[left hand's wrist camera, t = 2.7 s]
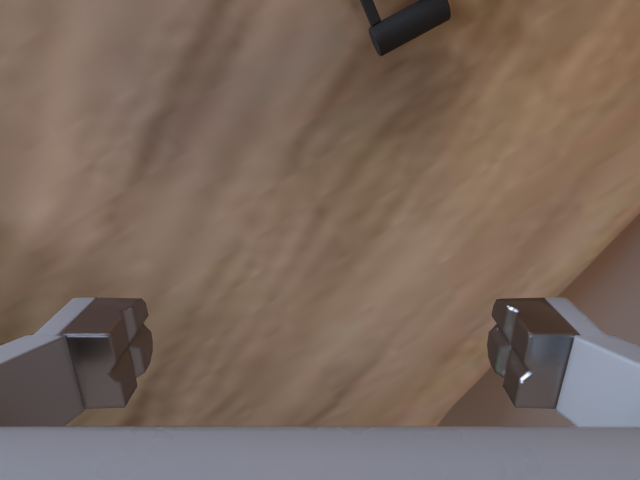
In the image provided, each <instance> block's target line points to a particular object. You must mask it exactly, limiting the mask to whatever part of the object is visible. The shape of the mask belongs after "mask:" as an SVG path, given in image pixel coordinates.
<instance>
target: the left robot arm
mask: <svg viewBox="0 0 640 480" xmlns="http://www.w3.org/2000/svg"><path fill="white" fill-rule="evenodd" d="M147 317H148V312H147V307H146V303H145V302H144V301H143V299H142V298H97V297H88V298H73V299H72V300H71V301H70V302H69V303H67V304H66V305H65V306H64V307H63V308H62V309H61V310H60V311H59V312H58V313H57V314H56V315H54V316H53V317H52V318H51V319H50V320H49V321H48V322H47V323H46V324H45V325H44V326H43V327H42V328H40V329H39V330H38V331H37V332H36V333H35V334H34V335H26V336H23V337H21V338H18V339H16V340H13V341H11V342H9V343H6V344H4V345H1V346H0V480H640V346H639V345H636V344H634V343H631V342H629V341H627V340H624V339H622V338H619V337H617V336H614V335H606V334H605V333H604V332H603V331H602V330H601V329H600V328H599V327H597V326H596V325H595V324H594V323H593V322H592V321H591V320H590V319H589V318H588V317H587V316H586V315H585V314H583V313H582V312H581V311H580V310H579V309H578V308H577V307H576V306H575V305H574V304H573V303H572V302H571V301H569V300H568V299H566V298H563V297H554V298H510V299H497V300H496V302H495V304H494V306H493V311H492V317H493V318H494V320H495V321H496V323H497V324H496V325H495V326H494V327H493V328H492V329H491V330H490V331H489V335H488V342H487V348H488V357H489V360H490V364H491V366H492V368H493V370H494V371H495V373H497V374H498V375H500V376H502V377H503V378H504V382H503V387H504V389H505V391H506V392H507V394H508V396H509V397H510V399H511V401H512V403H513V404H514V406H515V407H516V408H550V409H556V411H557V412H558V413H560V414H561V415H563V416H564V417H565V418H566V419H568V420H569V421H570V422H572V423H573V424H574V425H576V426H577V427H63V426H64V425H66V424H67V423H68V422H70V421H71V420H72V419H74V418H75V417H76V416H78V415H79V414H80V413H82V412H83V411H84V409H90V408H125V406H126V404H127V403H128V401H129V399H130V398H131V396H132V394H133V392H134V391H135V389H136V387H137V382H136V378H137V377H138V376H140V375H142V374H143V373H145V371H146V370H147V368H148V366H149V364H150V360H151V356H152V352H153V341H152V334H151V331H150V330H149V329H148V328H147V327H146V326H145V325H144V324H143V323H144V322H145V320H146V318H147Z"/></svg>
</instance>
